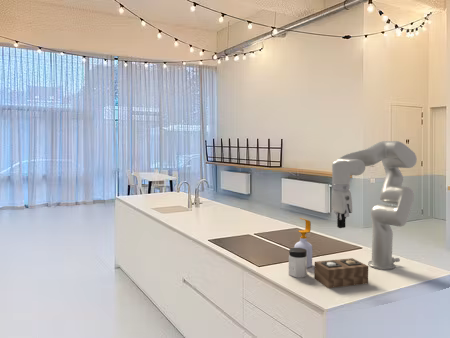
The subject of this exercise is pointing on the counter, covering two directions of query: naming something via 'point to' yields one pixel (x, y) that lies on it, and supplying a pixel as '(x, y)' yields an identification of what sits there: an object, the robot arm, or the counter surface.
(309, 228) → the soap bottle
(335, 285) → the walnut block
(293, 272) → the jar
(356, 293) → the counter surface
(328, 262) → the white peg
